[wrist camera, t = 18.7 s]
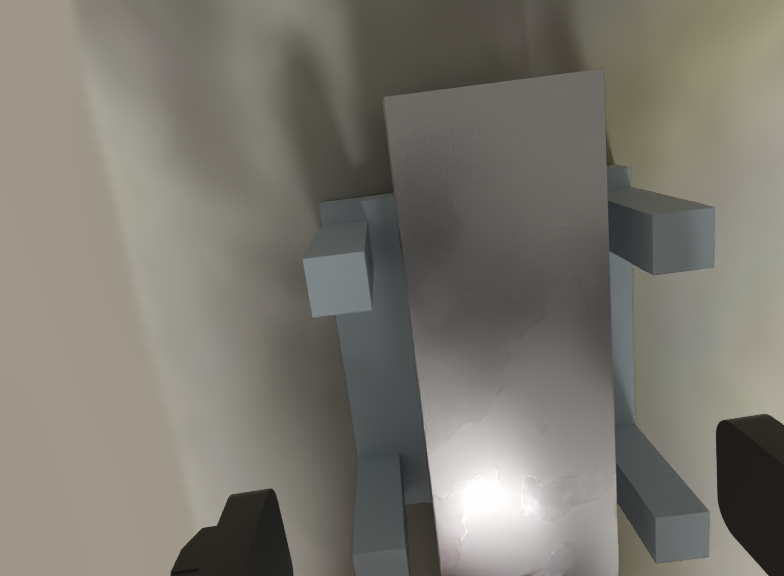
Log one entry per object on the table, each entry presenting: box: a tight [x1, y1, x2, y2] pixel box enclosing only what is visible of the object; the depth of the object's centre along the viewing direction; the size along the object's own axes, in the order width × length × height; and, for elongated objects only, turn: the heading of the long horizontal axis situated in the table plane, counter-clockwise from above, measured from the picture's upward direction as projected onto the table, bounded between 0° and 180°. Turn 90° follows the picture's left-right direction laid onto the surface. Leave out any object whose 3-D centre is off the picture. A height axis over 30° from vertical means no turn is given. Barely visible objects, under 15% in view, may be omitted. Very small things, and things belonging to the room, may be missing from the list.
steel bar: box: [383, 68, 619, 576], centre depth 15 cm, size 16×4×4 cm, turn 7°
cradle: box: [303, 165, 715, 576], centre depth 15 cm, size 9×8×5 cm
